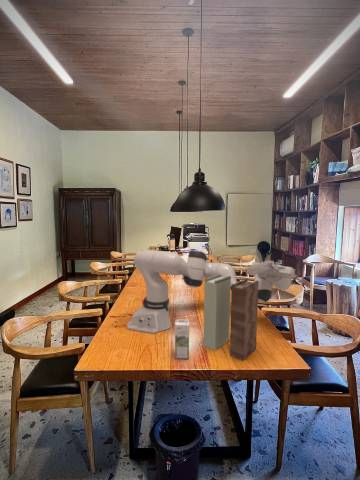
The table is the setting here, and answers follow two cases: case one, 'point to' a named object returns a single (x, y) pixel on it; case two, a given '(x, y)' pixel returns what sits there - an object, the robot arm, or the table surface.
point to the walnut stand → (243, 319)
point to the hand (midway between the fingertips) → (267, 264)
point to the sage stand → (216, 311)
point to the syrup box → (181, 339)
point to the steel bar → (259, 268)
